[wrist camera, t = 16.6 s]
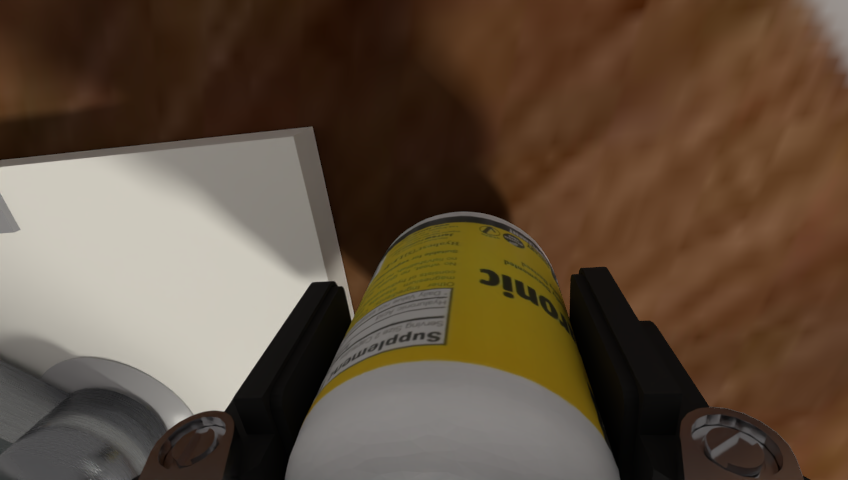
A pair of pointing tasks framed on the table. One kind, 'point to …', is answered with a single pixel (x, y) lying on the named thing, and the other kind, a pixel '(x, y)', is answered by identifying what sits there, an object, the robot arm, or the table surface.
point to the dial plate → (161, 263)
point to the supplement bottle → (457, 369)
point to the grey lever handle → (71, 431)
